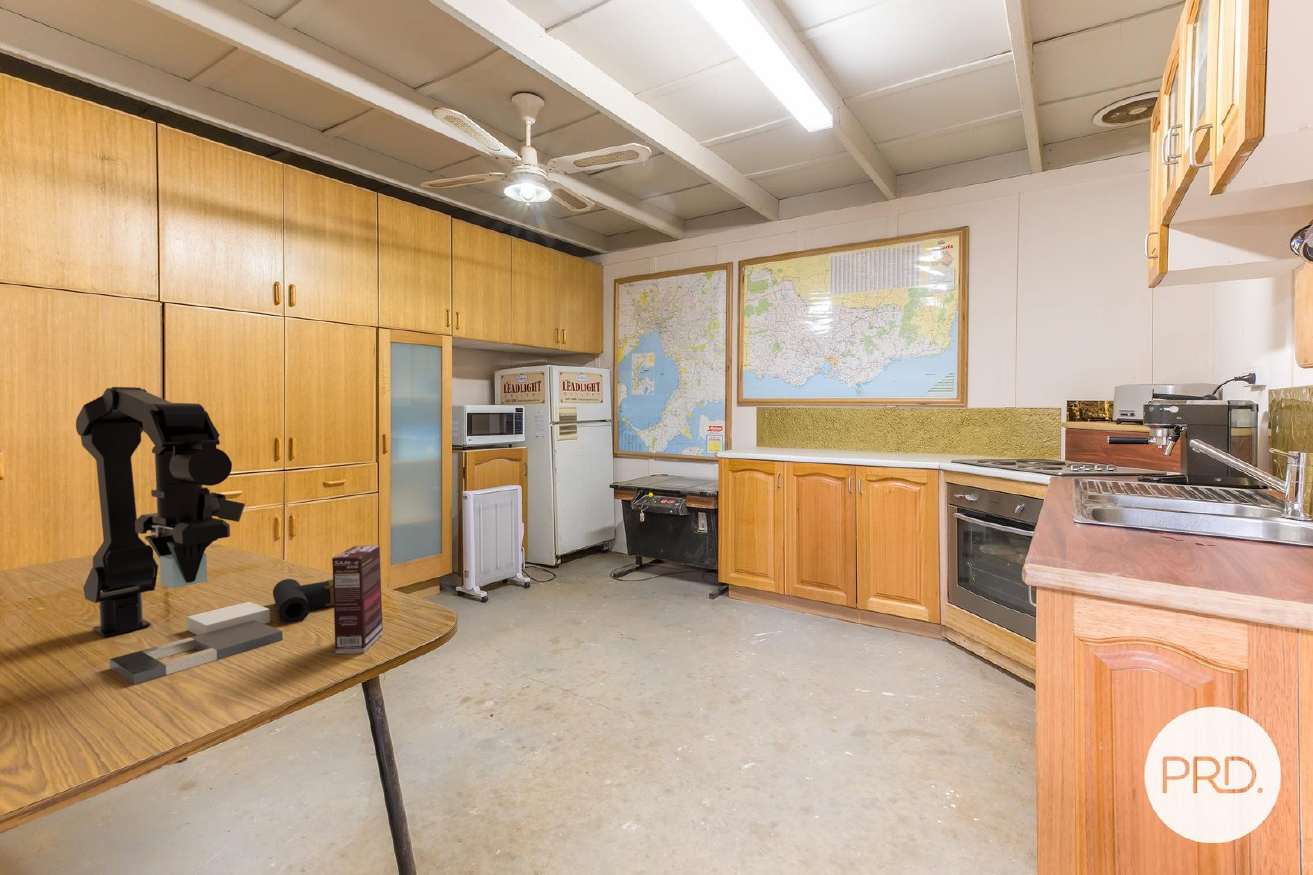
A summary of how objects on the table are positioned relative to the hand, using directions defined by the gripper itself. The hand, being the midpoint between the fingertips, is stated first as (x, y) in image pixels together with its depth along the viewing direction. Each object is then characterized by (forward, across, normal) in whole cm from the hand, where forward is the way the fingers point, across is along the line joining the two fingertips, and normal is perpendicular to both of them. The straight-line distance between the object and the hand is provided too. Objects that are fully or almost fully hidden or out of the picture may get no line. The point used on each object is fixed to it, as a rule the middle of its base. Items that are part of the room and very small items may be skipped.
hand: (183, 580), depth 95 cm
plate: (+12, -1, -2) cm, 12 cm away
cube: (0, 0, 0) cm, 1 cm away
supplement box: (+13, -19, -17) cm, 29 cm away
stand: (+12, +9, -10) cm, 18 cm away
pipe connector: (+13, +7, -23) cm, 27 cm away
